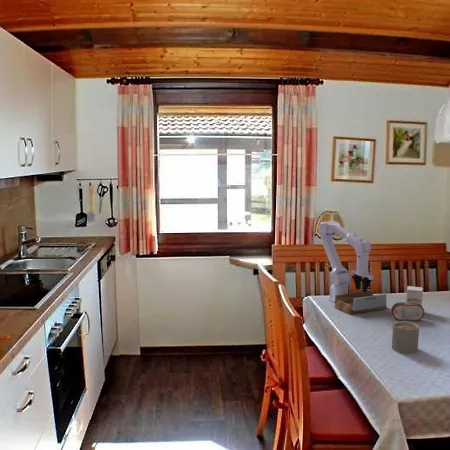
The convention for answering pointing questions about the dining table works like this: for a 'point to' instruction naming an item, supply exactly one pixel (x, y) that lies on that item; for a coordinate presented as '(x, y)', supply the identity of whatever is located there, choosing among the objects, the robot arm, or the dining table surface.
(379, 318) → the dining table surface
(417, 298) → the supplement box
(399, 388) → the dining table surface
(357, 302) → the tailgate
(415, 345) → the coffee mug
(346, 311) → the wooden tray
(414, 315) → the tin
